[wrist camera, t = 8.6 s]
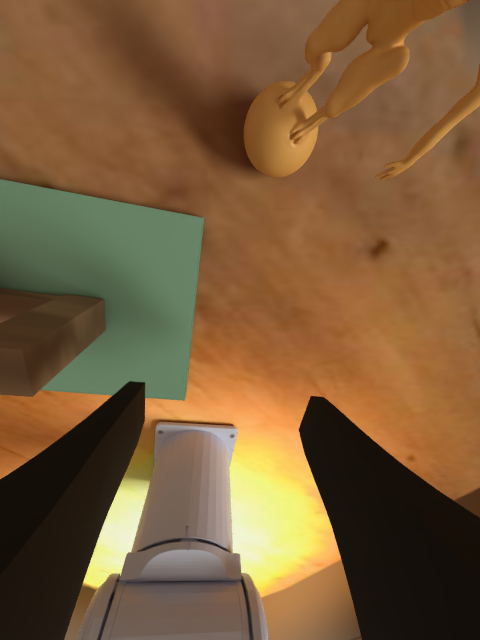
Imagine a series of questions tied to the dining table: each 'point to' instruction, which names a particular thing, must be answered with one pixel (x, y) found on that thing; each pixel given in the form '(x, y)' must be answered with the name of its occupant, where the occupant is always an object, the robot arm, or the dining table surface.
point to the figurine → (344, 84)
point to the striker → (43, 336)
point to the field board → (109, 282)
